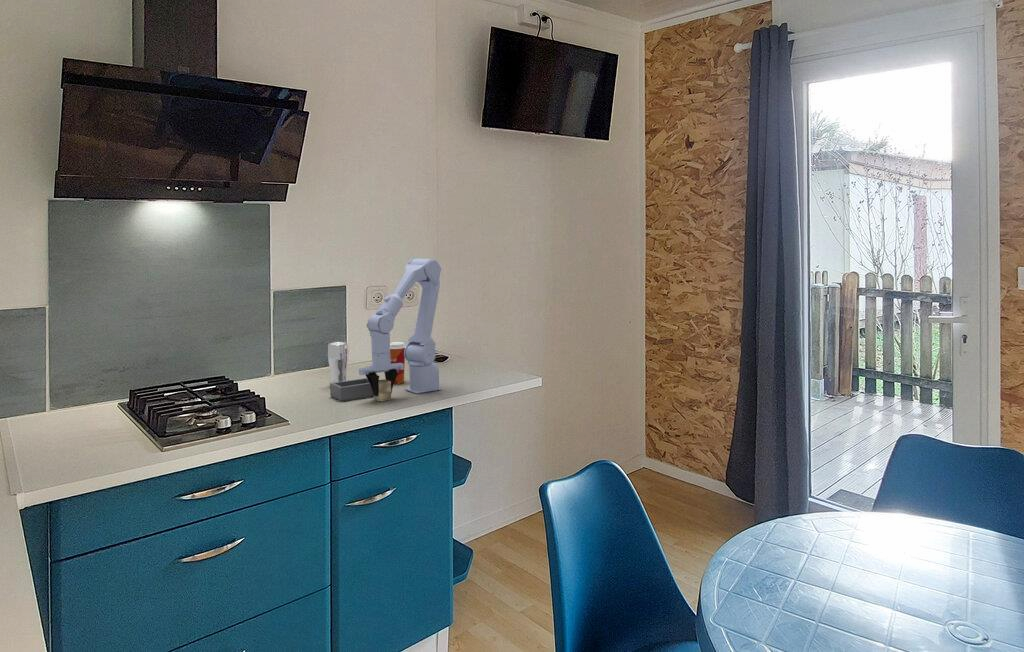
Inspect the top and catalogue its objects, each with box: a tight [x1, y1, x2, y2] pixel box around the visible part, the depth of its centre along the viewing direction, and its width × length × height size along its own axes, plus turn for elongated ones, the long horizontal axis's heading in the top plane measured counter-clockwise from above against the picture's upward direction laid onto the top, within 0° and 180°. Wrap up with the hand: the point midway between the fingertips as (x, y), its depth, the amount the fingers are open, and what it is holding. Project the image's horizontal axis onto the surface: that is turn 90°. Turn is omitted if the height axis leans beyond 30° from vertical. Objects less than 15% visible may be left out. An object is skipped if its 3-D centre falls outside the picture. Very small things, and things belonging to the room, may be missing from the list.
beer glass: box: [327, 341, 350, 383], centre depth 236 cm, size 7×7×15 cm
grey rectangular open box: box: [329, 377, 374, 403], centre depth 222 cm, size 13×8×4 cm, turn 126°
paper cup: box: [390, 341, 407, 385], centre depth 241 cm, size 8×8×14 cm
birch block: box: [373, 378, 392, 402], centre depth 217 cm, size 4×4×6 cm
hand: (382, 394), depth 217 cm, fingers closed on birch block, 4 cm apart
